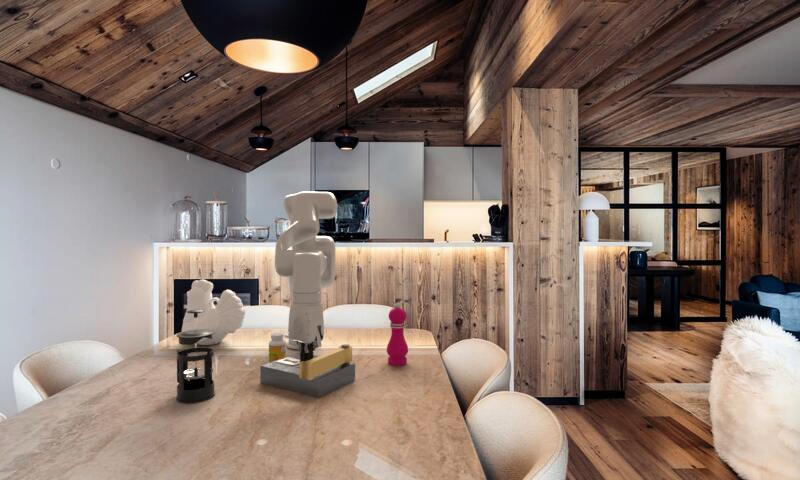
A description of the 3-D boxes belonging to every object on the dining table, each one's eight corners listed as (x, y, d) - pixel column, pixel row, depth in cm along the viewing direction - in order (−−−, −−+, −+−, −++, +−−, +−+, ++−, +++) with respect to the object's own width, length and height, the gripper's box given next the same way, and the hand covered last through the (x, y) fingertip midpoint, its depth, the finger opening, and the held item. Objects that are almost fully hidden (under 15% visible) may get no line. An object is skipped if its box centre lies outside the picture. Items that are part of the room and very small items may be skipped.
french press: (224, 393, 117) (224, 308, 116) (194, 406, 108) (194, 314, 108) (194, 386, 122) (194, 305, 121) (163, 398, 113) (163, 310, 113)
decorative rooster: (172, 345, 166) (171, 280, 165) (206, 336, 180) (206, 276, 179) (220, 353, 155) (219, 284, 154) (252, 343, 169) (252, 280, 169)
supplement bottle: (265, 364, 143) (265, 335, 142) (275, 360, 148) (275, 331, 147) (278, 366, 141) (278, 336, 140) (288, 361, 146) (288, 333, 145)
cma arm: (343, 360, 130) (343, 343, 130) (354, 362, 128) (355, 344, 128) (298, 380, 112) (298, 360, 112) (310, 383, 110) (311, 362, 110)
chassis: (260, 382, 125) (260, 364, 125) (299, 368, 139) (299, 351, 139) (318, 398, 114) (318, 377, 114) (355, 380, 128) (355, 362, 128)
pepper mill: (408, 360, 148) (409, 301, 148) (407, 366, 141) (407, 305, 141) (388, 359, 149) (388, 301, 148) (385, 365, 142) (385, 304, 141)
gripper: (278, 296, 118) (278, 363, 118) (313, 303, 108) (313, 376, 109) (301, 293, 124) (301, 357, 124) (336, 299, 114) (336, 368, 115)
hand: (306, 366), depth 116 cm, fingers closed
